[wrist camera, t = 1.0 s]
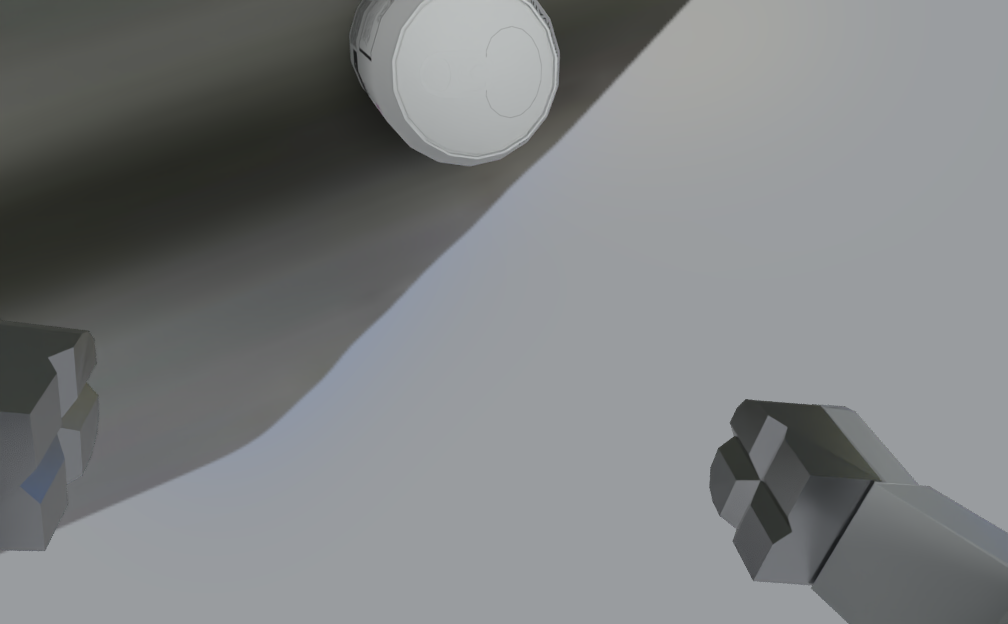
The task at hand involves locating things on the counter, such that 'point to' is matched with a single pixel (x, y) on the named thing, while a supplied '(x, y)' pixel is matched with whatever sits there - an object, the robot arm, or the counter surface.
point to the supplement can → (457, 73)
